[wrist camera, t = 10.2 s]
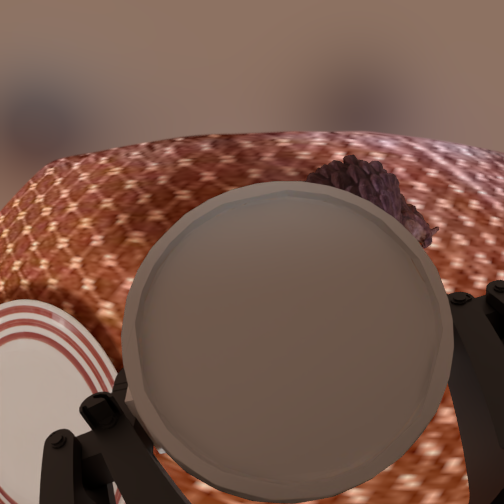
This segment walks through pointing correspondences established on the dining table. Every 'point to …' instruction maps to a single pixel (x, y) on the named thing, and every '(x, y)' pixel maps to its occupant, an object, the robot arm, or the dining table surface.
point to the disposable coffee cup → (287, 341)
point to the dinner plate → (43, 389)
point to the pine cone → (374, 191)
